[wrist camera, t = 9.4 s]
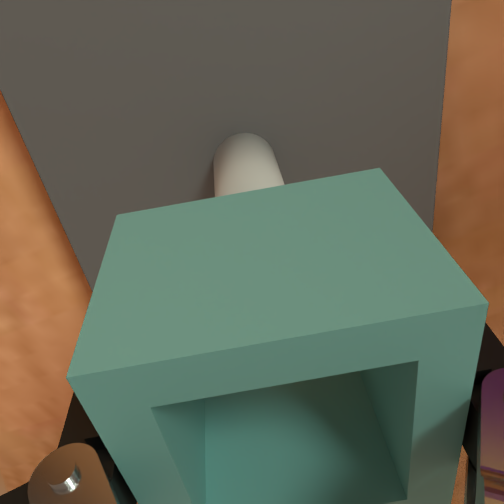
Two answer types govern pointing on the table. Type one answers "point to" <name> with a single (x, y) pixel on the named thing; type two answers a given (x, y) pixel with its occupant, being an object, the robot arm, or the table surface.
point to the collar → (281, 349)
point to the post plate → (219, 100)
